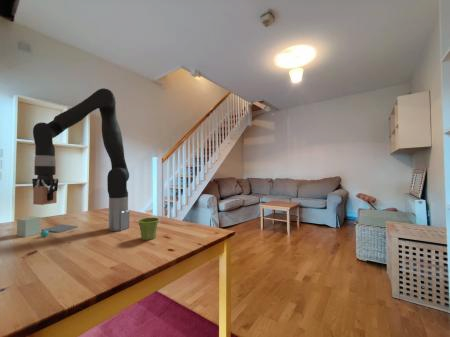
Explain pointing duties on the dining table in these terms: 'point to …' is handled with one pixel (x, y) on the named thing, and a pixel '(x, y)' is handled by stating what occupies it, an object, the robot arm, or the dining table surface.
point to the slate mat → (59, 228)
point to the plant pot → (148, 228)
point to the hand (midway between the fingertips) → (45, 200)
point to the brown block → (43, 196)
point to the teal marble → (44, 233)
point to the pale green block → (28, 226)
